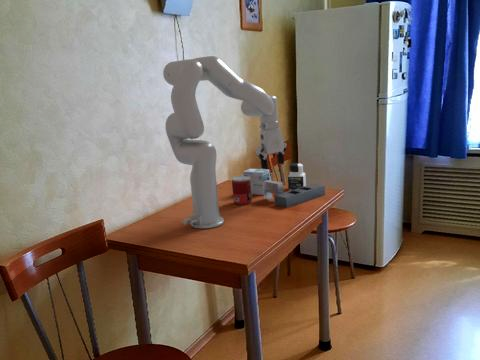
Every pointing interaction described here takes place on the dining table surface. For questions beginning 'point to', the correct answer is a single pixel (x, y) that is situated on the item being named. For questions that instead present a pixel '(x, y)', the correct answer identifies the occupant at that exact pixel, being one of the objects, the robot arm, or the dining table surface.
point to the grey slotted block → (299, 195)
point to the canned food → (241, 190)
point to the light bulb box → (257, 179)
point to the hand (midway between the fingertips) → (272, 165)
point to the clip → (272, 188)
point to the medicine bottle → (296, 177)
